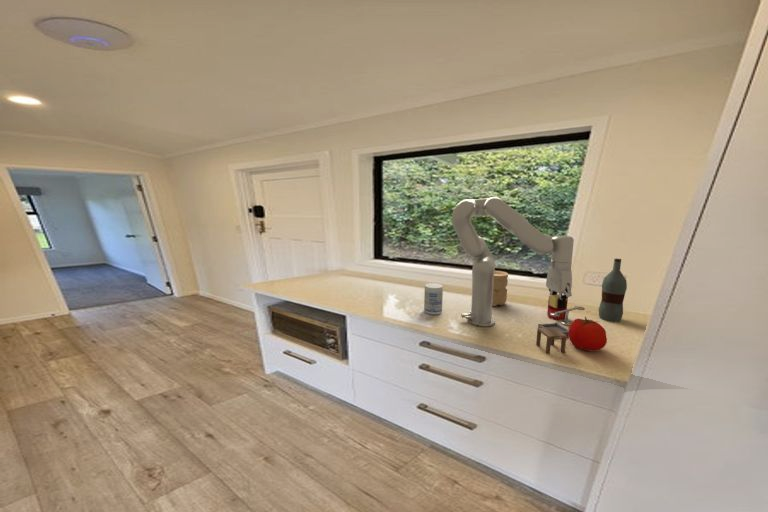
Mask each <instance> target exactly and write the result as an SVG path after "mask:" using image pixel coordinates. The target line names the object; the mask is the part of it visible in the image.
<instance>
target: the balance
mask: <svg viewBox="0 0 768 512" xmlns="http://www.w3.org/2000/svg"><path fill="white" fill-rule="evenodd" d="M575 310H578V311H585V307H583V306H579V305H577V306H576V305H575V306H574V307H570V308H567V309H566V310H562V311H558V312H555V313H554V312H551V313H550V315H552V316H556V317H559V316H560V313H564V312H566V313H565V319H564V320H560V324H561V326H565V327H570V326H571V324H572V323H571V322H570V321H568V320H569V313H570V312H572V311H575Z"/></svg>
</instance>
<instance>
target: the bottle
mask: <svg viewBox="0 0 768 512" xmlns="http://www.w3.org/2000/svg"><path fill="white" fill-rule="evenodd" d="M621 265H622V259H621V258H614V260H613V266H612V270H611V271H610V272H609V273H608V274H607V275H606V276H605V277H604V278H603V280H602V284H601V301H600V303H599V307H598V317H599V319H601V321H602V320H603V321H605V322H609V323H620V322H621V320H622V318H623V315H624V305H623V304H624V300H625V297H626V296H625V295H626V291H627V289H628V285H627V284H628V283H627V279H626V278H625V276H624V274H623V272H622V271H621Z"/></svg>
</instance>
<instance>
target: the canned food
mask: <svg viewBox="0 0 768 512" xmlns="http://www.w3.org/2000/svg"><path fill="white" fill-rule="evenodd" d="M557 295H559V293H557ZM563 295H564V294H562V296H563ZM549 298H550V294H549V295H548V302H547V312H546V313H547V314H546V315H547V317H548V318H549V319H552V320H555V321H565V313H566V312H564V313H560V316H559V317H556V316H552V315H550V313H551V312H554V313H555V312H558V311H562V310H566V309H568V300H569V299H568V298H569V297H568V298H567V299H566V304H565V308H554V307H552V306H550V305H549Z"/></svg>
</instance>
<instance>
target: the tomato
mask: <svg viewBox="0 0 768 512" xmlns="http://www.w3.org/2000/svg"><path fill="white" fill-rule="evenodd" d="M598 322H600V321H598V320H597V321H594V320H593V319H588V318H587V317H586V316H584V319H583V318H575V319H574V320H573V321H572V323H571V326H568V327H569V328H568V330H569V331H568V334H569V336H568V339H569V341H570V343H571V345H573V346H575V347H576V348H578V349H581V350H585V351H590V352H597V351H601V349H603V348H605V346H606V345H607V342H608V338H607V332H606V329H605V327H603V326H602V325H601V324H600V323H598Z"/></svg>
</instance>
